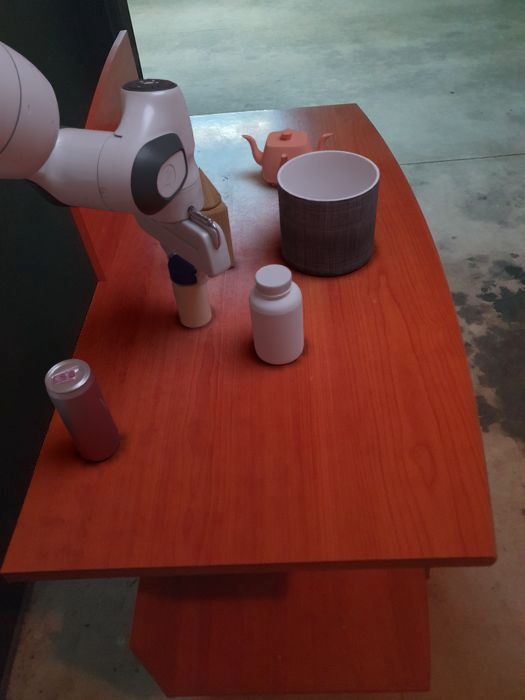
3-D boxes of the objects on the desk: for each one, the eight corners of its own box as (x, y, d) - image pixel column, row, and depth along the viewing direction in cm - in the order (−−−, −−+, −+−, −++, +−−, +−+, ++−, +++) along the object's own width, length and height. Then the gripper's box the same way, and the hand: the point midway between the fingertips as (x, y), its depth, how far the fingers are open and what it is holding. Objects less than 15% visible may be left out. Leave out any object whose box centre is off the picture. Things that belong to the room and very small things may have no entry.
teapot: (333, 177, 130) (334, 130, 122) (285, 201, 124) (283, 153, 116) (291, 156, 138) (289, 111, 130) (244, 178, 132) (240, 132, 125)
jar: (184, 331, 97) (172, 280, 89) (176, 311, 101) (165, 260, 93) (215, 322, 98) (207, 271, 90) (207, 302, 102) (198, 252, 94)
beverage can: (76, 436, 83) (40, 366, 72) (117, 423, 84) (87, 352, 73) (82, 469, 79) (45, 399, 68) (125, 454, 80) (95, 384, 69)
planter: (287, 222, 118) (283, 150, 107) (374, 224, 115) (380, 150, 104) (275, 275, 106) (270, 200, 95) (372, 279, 103) (379, 202, 92)
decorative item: (236, 267, 108) (223, 169, 94) (203, 277, 107) (186, 180, 93) (223, 249, 113) (209, 153, 99) (192, 259, 111) (173, 163, 97)
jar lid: (204, 259, 95) (202, 248, 93) (209, 281, 90) (207, 269, 89) (168, 266, 94) (165, 254, 92) (171, 288, 90) (169, 276, 88)
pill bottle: (248, 338, 94) (239, 265, 84) (294, 326, 96) (291, 253, 85) (263, 371, 89) (255, 298, 78) (311, 358, 90) (310, 284, 80)
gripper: (235, 213, 78) (244, 291, 88) (151, 165, 89) (168, 239, 99) (198, 232, 75) (212, 311, 85) (117, 180, 86) (137, 255, 96)
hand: (188, 272), depth 92 cm, fingers closed on jar lid, 6 cm apart
